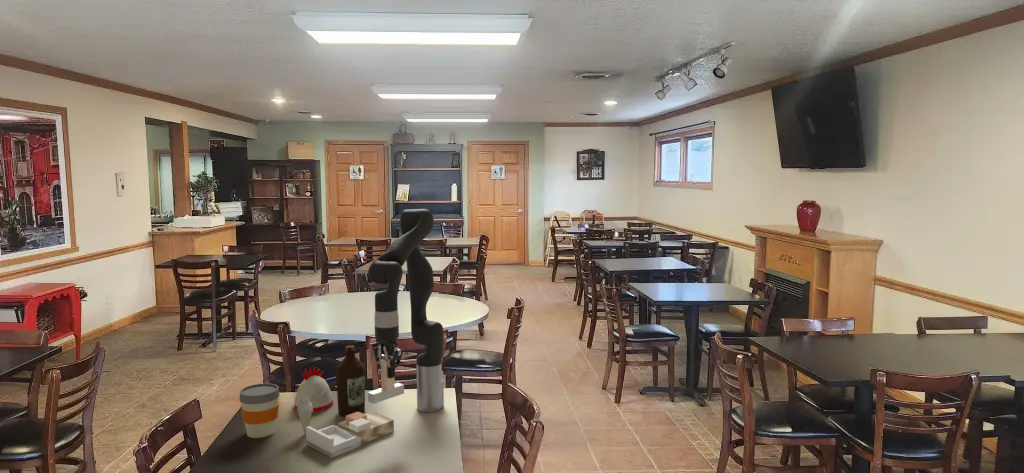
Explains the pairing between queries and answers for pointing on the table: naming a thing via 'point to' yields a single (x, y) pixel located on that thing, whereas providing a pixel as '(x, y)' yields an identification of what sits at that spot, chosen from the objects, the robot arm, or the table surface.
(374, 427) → the tan flat block
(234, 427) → the table surface
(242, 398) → the reusable coffee cup
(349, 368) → the brown rum bottle
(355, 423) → the offwhite tile
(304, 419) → the ice cream cone
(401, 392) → the scraper
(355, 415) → the terracotta tile
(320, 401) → the kitchen timer
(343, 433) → the box
